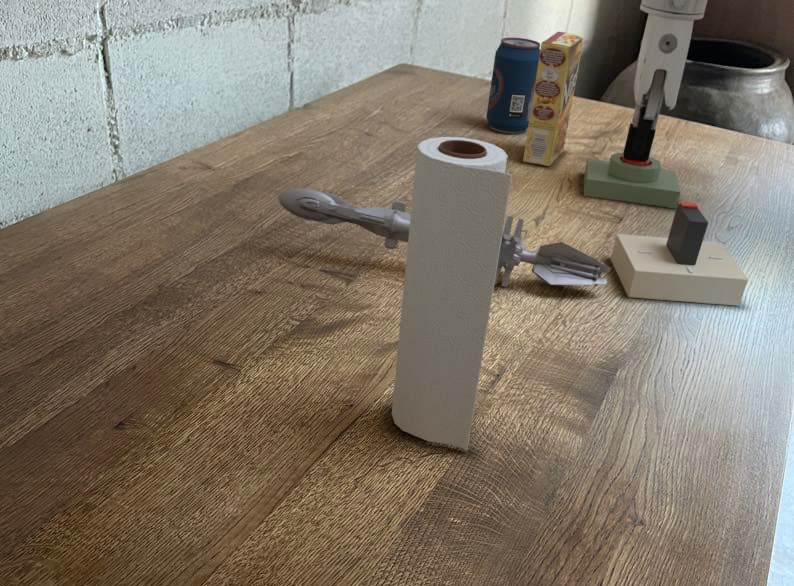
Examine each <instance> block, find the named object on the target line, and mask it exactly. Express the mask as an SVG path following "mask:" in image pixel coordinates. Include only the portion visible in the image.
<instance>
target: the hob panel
mask: <svg viewBox="0 0 794 586" xmlns="http://www.w3.org/2000/svg"><path fill="white" fill-rule="evenodd" d="M615 235H616V236H615V239H614V242H613V243H614V244H613V246H612V247H613V248H612V252H611V255H610V261H611V264H612V266H613V268H614V270H615V272H616V274H617V276H618V278H619V281H620V283H621V285H622V287H623V289H624V291H625V294H626V295H627V297H628V298H634V299H645V300H661V301H670V302H671V301H673V302H685V303H697V304H710V305H723V306H737V307H739V306H740V305H741V301H742V298H743V296H744V293H745V290H746V287H747V285H748V282H749V278H748V276H746V273H744V271H743V270H742V269H741V267H740V266H739V265H738V263H737V262H736V260H735V259H734V257H732V254H730V252H729V251H728V250H727V248H726V247H725V245H724V244H723V243H722V242H721V241H711V240H708V241H707V240H703V242H702V245H701V248H700V251H699V255H698V258H697V261H696V264H695V265H689V264H677V262H676V261H675V259H674V257H673V256H672V254H671V252H670V251H669V249H668V247H667V246H666V244H667V240H668V237H661V236H660V237H659V236H649V235H636V234H625V233H616V234H615Z"/></svg>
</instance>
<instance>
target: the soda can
mask: <svg viewBox="0 0 794 586" xmlns="http://www.w3.org/2000/svg"><path fill="white" fill-rule="evenodd" d="M540 49H541V43H540V42H539V41H536V40H533V39H528V38H524V37H523V38H522V37H503V38H502V39H501V40H500V44H499V45H498V47H497V49H496V50H495V54H494V61H493V69H492V75H491V81H490V89H489V96H488V103H487V110H486V121H487V123H488V127H489V128H490V129H491V130H493V131H495V132H499V133H502V134H509V135H518V134H523V133H525V132H526V131H527V130H528V126H529V120H530V113H531V107H532V101H533V94H534V87H535V81H536V74H537V68H538V62H539V55H540Z"/></svg>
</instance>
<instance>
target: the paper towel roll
mask: <svg viewBox="0 0 794 586" xmlns="http://www.w3.org/2000/svg"><path fill="white" fill-rule="evenodd" d="M507 162H508V154H507V153H506V151H505V150H504V149H503V148H501V147H499V146H497V145H495V144H493V143H490V142H486V141H482V140H479V139H473V138H467V137H461V136H460V137H457V136H440V137H432V138H431V137H429V138H427V139H425V140H422V141H420V143H419V144H418V145H417V147H416V155H415V164H414V165H415V167H414V176H413V177H414V178H413V187H412V188H413V189H412V197H411V207H410V208H411V209H410V214H411V217H410V227H409V238H408V242H407V248H406V250H407V251H406V259H405V260H406V261H405V271H404V280H403V290H402V299H401V300H402V301H401V313H400V320H399V321H400V322H399V332H398V333H399V334H398V344H397V354H396V364H395V374H394V383H393V395H392V405H391V417H392V420H393V422H394V425H396V427H398V428H399V429H400V430H401V431H403V432H405V433H407V434H410V435H411V436H414V437H417V438H419V439H422V440H423V441H426V442H429V443H436V444H437V443H438V444H443V445H444V444H445V445H449V446H453V447H457V448H460V449H462V450H464V451H466V452H467V451H468V449H469V443H470V436H471V431H472V425H473V418H474V413H475V407H476V406H475V405H476V401H477V400H476V399H477V393H478V388H479V387H478V386H479V381H480V377H481V368H482V363H483V357H484V350H485V344H486V340H487V339H486V338H487V332H488V327H489V321H490V320H489V319H490V313H491V307H492V301H493V295H494V289H495V284H494V283H495V277H496V271H497V265H498V259H499V252H500V246H501V240H502V234H503V231H504V227H505V223H506V222H505V221H506V216H507V215H506V214H507V208H508V204H509V203H508V202H509V197H510V191H511V190H510V189H511V184H512V179H513V174H509V173H506V169H507Z"/></svg>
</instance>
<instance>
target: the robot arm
mask: <svg viewBox="0 0 794 586" xmlns="http://www.w3.org/2000/svg"><path fill="white" fill-rule="evenodd" d="M707 4H708V0H641V3H640V6H639V10H640V11H642V12H643V13H646V14H648V15H647V20H646V23H645V28H644V33H643V36H642V41H641V44H640V45H641V46H640V50H639V55H638V58H637V59H638V60H637V63H636V64H637V65H636V70H635V77H634V82H633V97H634V102H635V107H634V112H633V116H632V120H631V123H629V127H628V131H627V132H628V133H627V136H626V140H625V144H624V149H623V152H622V153H623V154H624V158H625V159H629V160H636V161H643V162H646V161H648V158H649V157H650V154H651V151H652V146H653V143H654V139H655V135H656V127H657V123H658V119H659V117H660V112H661V110H662V105H663V103H664V104H665V107H667V110H668V111H671V110H673V109H675V108H676V105H677V100H678V95H679V91H680V87H681V84H682V83H681V82H682V79H683V74H684V70H685V67H686V61H687V57H688V53H689V49H690V43H691V39H692V35H693V34H692V33H693V28H694V21H696V20H701V19H703V18H704V15H705V12H706V8H707ZM663 101H664V102H663Z"/></svg>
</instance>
